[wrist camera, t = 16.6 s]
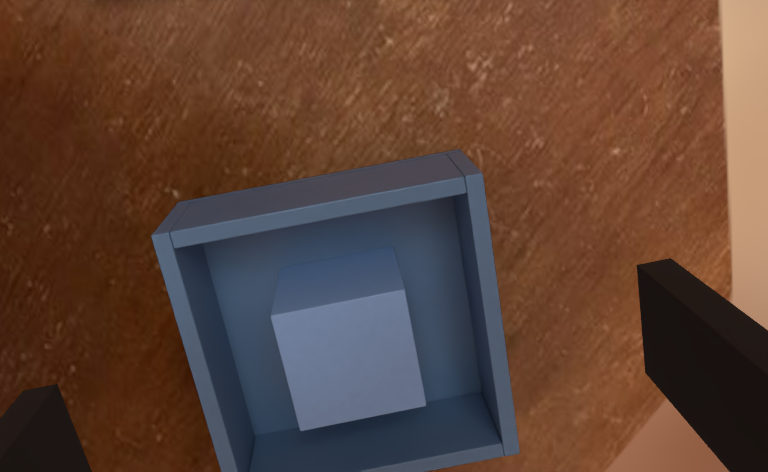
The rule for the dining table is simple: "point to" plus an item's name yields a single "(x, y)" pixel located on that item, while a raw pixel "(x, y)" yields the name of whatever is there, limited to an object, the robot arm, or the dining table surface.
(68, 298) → the dining table surface
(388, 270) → the blue block
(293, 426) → the blue bin
